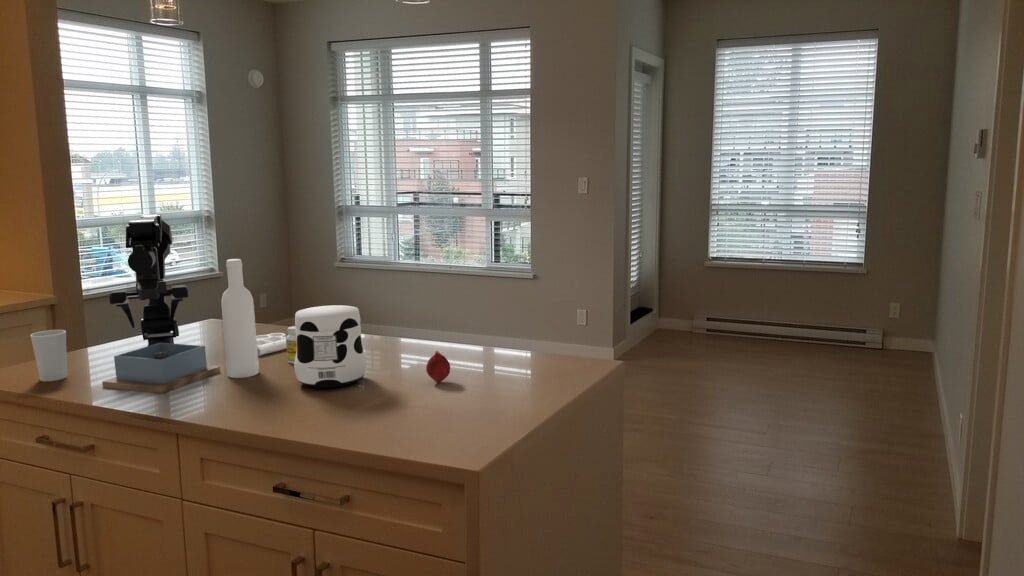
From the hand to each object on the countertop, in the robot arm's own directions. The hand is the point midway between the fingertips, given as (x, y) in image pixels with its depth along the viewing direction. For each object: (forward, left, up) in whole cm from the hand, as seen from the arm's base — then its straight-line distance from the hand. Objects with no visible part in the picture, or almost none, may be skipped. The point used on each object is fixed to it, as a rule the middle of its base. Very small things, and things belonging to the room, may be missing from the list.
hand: (152, 326), depth 209 cm
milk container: (-3, +53, -12) cm, 54 cm away
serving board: (+7, +9, -12) cm, 17 cm away
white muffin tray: (-27, +13, -13) cm, 33 cm away
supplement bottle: (-18, +32, -12) cm, 39 cm away
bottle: (-3, +26, -12) cm, 29 cm away
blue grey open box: (+7, +8, -10) cm, 15 cm away
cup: (+14, -21, -12) cm, 28 cm away
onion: (-10, +79, -12) cm, 81 cm away
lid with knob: (+7, +9, -10) cm, 15 cm away
